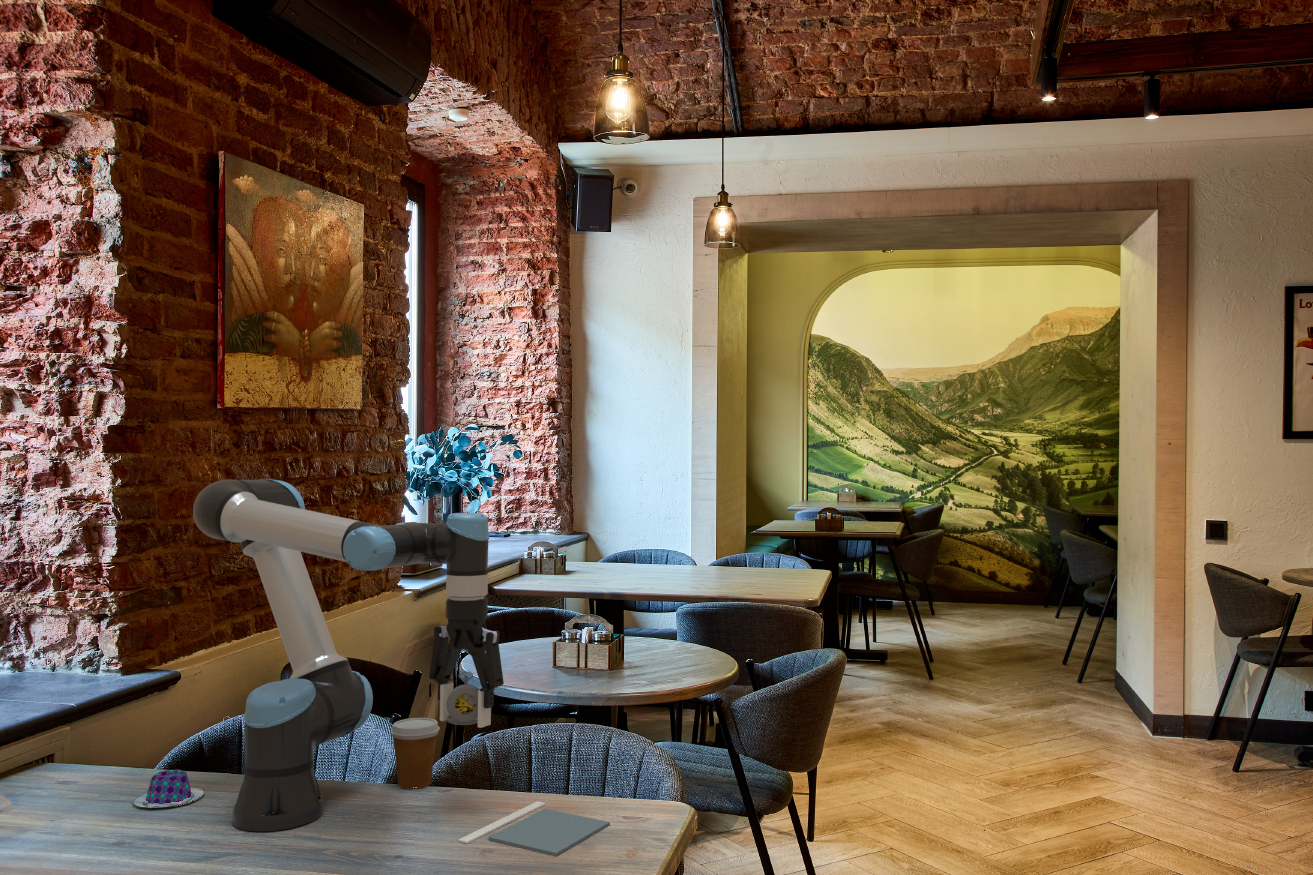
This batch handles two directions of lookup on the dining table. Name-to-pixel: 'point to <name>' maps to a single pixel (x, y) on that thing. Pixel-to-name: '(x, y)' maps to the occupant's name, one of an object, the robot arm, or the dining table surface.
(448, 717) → the pocket watch
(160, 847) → the dining table surface
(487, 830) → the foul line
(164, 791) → the purple domed brimmed part
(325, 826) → the dining table surface
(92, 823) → the dining table surface
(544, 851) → the mat
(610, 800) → the dining table surface
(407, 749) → the disposable coffee cup
